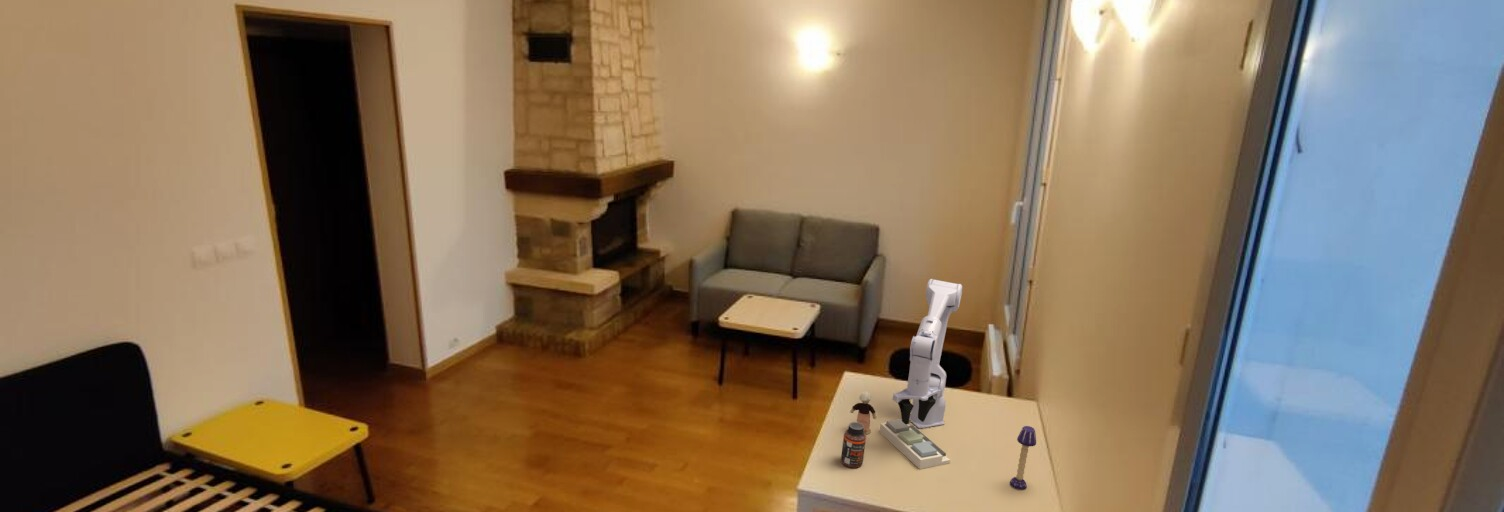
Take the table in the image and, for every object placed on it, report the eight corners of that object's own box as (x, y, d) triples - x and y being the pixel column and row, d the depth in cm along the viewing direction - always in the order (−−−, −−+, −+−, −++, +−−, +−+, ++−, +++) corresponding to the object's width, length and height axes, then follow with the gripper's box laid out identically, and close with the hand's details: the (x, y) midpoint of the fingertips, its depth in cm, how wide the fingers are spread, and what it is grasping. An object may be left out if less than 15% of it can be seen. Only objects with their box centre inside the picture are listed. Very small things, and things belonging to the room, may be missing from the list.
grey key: (899, 423, 209) (900, 418, 208) (909, 431, 205) (909, 426, 204) (886, 425, 207) (886, 421, 207) (895, 433, 203) (895, 429, 202)
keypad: (907, 427, 212) (908, 418, 211) (949, 463, 194) (951, 454, 194) (879, 431, 208) (880, 423, 208) (919, 469, 191) (920, 460, 190)
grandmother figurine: (873, 429, 210) (878, 390, 206) (874, 435, 206) (879, 396, 202) (848, 426, 210) (852, 387, 207) (848, 432, 207) (852, 393, 203)
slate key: (925, 445, 197) (926, 441, 197) (936, 454, 193) (937, 450, 193) (911, 448, 196) (912, 443, 195) (921, 457, 191) (922, 453, 191)
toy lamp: (1005, 479, 189) (1016, 423, 184) (1022, 479, 189) (1033, 423, 184) (1013, 489, 184) (1024, 433, 179) (1030, 490, 184) (1042, 433, 180)
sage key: (912, 434, 203) (913, 429, 203) (922, 442, 199) (923, 438, 199) (898, 436, 201) (899, 432, 201) (908, 445, 197) (908, 440, 197)
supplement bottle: (848, 470, 188) (853, 433, 184) (836, 459, 193) (840, 422, 189) (867, 466, 190) (871, 428, 187) (854, 454, 195) (858, 418, 192)
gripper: (905, 386, 188) (899, 432, 192) (949, 380, 194) (942, 424, 198) (890, 375, 195) (885, 419, 198) (934, 369, 200) (927, 412, 204)
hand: (912, 421), depth 198 cm, fingers open, 5 cm apart
